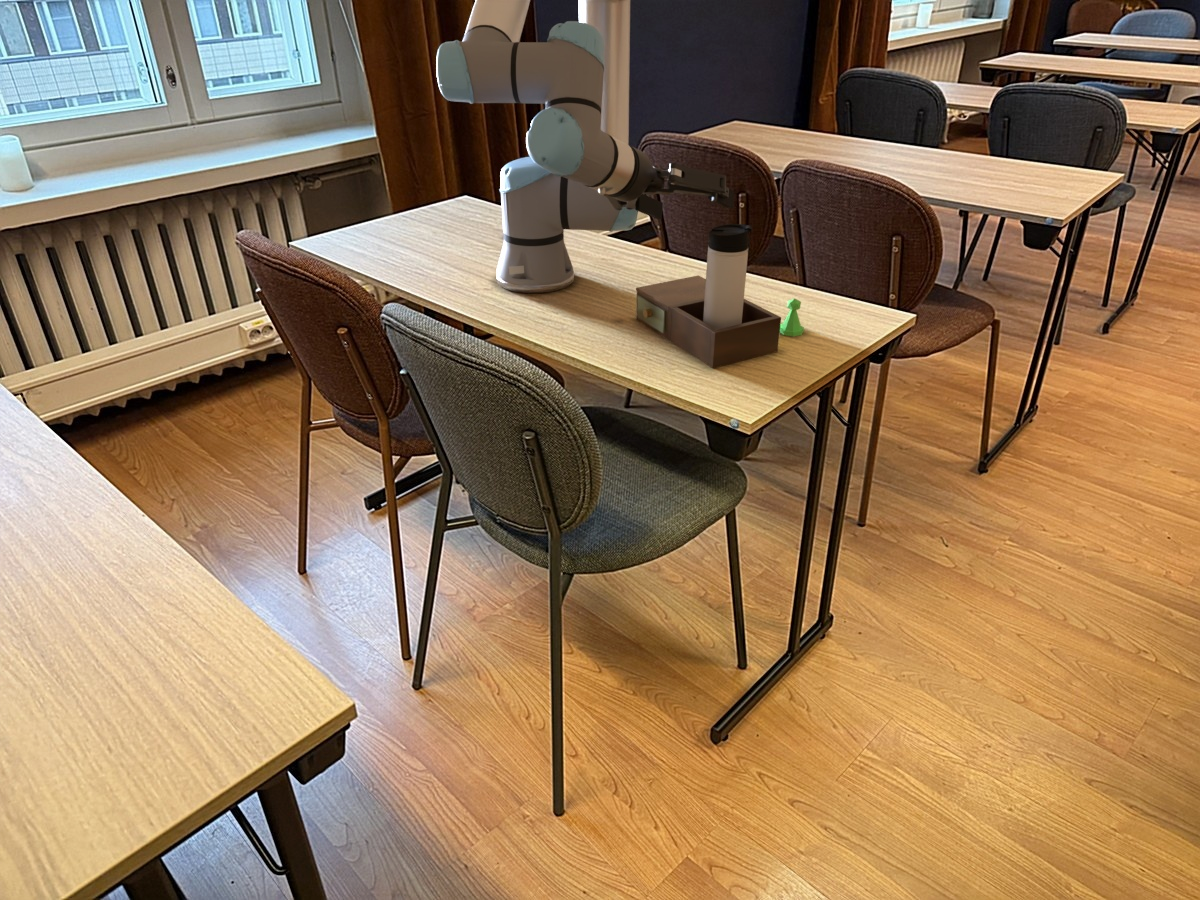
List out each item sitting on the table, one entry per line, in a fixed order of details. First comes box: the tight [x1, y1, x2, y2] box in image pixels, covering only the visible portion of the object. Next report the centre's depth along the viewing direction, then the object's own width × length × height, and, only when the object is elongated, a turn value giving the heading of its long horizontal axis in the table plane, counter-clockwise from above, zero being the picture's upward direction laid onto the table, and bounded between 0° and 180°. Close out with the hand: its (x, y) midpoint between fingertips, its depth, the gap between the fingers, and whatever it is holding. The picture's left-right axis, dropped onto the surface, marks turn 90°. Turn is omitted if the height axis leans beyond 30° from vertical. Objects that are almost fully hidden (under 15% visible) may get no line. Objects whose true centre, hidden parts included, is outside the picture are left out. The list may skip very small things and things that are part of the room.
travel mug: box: [703, 223, 753, 330], centre depth 136 cm, size 6×7×20 cm
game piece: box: [779, 298, 805, 337], centre depth 145 cm, size 4×4×6 cm
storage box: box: [635, 275, 782, 369], centre depth 143 cm, size 23×14×6 cm, turn 29°
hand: (695, 205), depth 138 cm, fingers open, 13 cm apart
